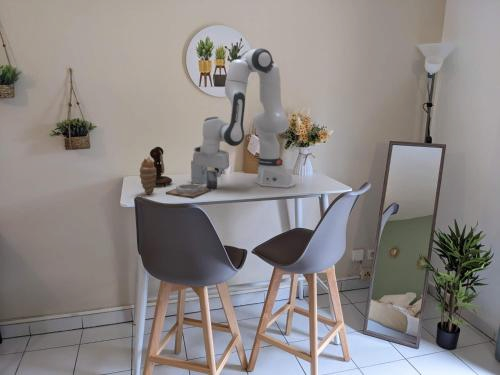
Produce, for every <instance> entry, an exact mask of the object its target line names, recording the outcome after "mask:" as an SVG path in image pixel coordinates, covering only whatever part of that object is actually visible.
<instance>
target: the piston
mask: <svg viewBox="0 0 500 375" xmlns="http://www.w3.org/2000/svg"><path fill="white" fill-rule="evenodd" d="M206 172H207V181H206V189H211V190H217V189H218V177H217V173H218V170H215V169H207V171H206Z"/></svg>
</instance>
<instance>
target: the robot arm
mask: <svg viewBox="0 0 500 375" xmlns="http://www.w3.org/2000/svg"><path fill="white" fill-rule="evenodd" d="M251 73H257V75H258V77H259V102H260V103H261V105H262V107H263V111H258V112H257V113H255V114H253V118H252V124H253V126H254V128H255V130H256V134H257V138H258V143H259V144H258V146H259V147H258V148H259V149H258V150H259V152H258V153H259V155H258V161H257V162H258V163H257V165H258V166H257V167H258V170H257V176H256V180H255V183H256V184H258V185H259V186H260V187H272V188H273V187H274V188H283V189H284V188H285V189H287V188H288V189H289V188H292V187H295V186H296V185H297V182H296V180H293V174H292V172H291V171H290V170H288V169H287V167H286V166H284V165H283V163H284V159H281V158H280V150H281V149H280V148H281V147H280V146H281V145H280V142H279V140H278V139H277V136H276V135H277V134H283V133H285V132H286V131H287V130H288V129H289V126H290V120H289V118H288V116H287V115H286V113H285V111H284V108H283V104H282V98H281V97H282V92H281V74H280V68H279V66H278V65H277V64H276V63H274V60H273V56H272V54H271V53H270V51H269V50H267V49H265V48H253V49H251V50H247V51H245V52H243V54H241V56H240V57H239V58H238V59H233V60H232V61H231V62H230V63H229V67H228V69H227V73H226V78H225V84H224V94H225V96H226V97H227V99H228V100H229V102H230V104H231V113H230V121H229V123H228V122H226V121H224V120H222V119H221V118H220V117H218V116H211V117H206V118H205V119H203V120H204V121H203V125H202V137H203V139H202V144H201V145H199V146H195V147H194V148H193V154H192V160H193V164H194V165H197V166H199V169H200V171H201V174H202V175H204V174H205V171H204V170H203V167H204V166H205V167H207V168H214V169H218V170H217V178H220V177H221V175H222V174H221V173H222V172H223V170H228V169H229V167H230V153H229V152H228V151H227V150H223V149H221V142H223V143H226V144H227V145H229V146H231V147H236V146H238V145H241V144H242V142H243V141H244V140H245V131H244V118H245V117H244V116H245V108H246V107H245V106H246V95H247V87H248V82H249V77H250V75H251Z"/></svg>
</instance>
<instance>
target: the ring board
mask: <svg viewBox="0 0 500 375" xmlns="http://www.w3.org/2000/svg"><path fill="white" fill-rule="evenodd" d="M211 191H212V189H207V187H206V188H204V187H201V185H199V184H197V183H185V184H183V183H182V184H179V185H176V186H175V188H173V189H171V190H167V191H166V192H165V195H170V196H175V197H180V198H187V199H195V198H198V197H200V196H202V195H206V194H208V193H209V192H211Z"/></svg>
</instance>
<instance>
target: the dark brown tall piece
mask: <svg viewBox="0 0 500 375" xmlns="http://www.w3.org/2000/svg"><path fill="white" fill-rule="evenodd" d="M149 155H150V156H149V157H150V158H151V159H152V160H153V162H154V167H155V168H156V174H157V176H156V182H155V186H161V185H163V186H164V187H165V188H166V186H167V185H169V184H171V183H173V179H172V178H171V177H169V176H166V175H164V174H165V163H164V160H163V158H164V157H163V155H164V149H163V148H162V147H160V146H155V147H154V148H152V149H151V150H150V151H149Z"/></svg>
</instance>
